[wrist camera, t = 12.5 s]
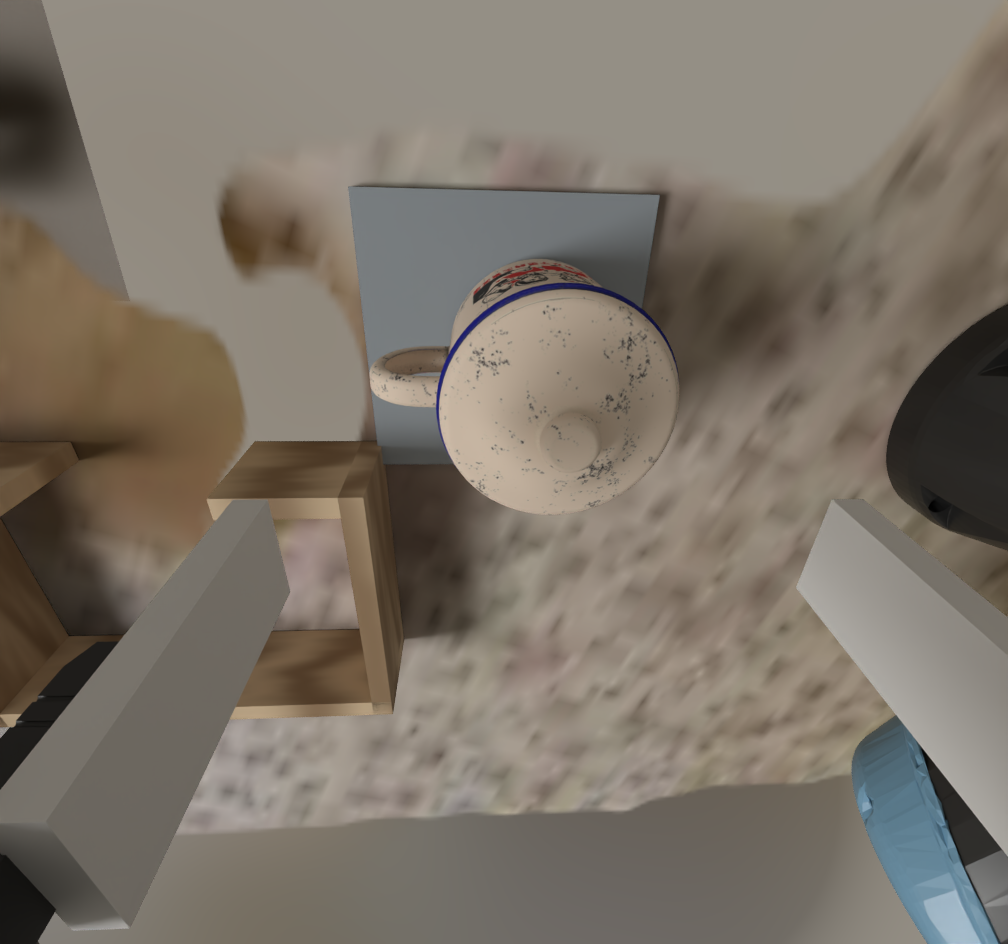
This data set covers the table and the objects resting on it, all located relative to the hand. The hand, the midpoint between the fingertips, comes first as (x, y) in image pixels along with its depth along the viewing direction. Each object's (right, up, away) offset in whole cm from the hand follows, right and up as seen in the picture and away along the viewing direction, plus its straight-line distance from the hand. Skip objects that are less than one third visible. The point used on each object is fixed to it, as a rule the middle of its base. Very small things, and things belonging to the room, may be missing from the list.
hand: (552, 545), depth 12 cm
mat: (-1, +9, +14) cm, 17 cm away
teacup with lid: (-1, +8, +14) cm, 17 cm away
